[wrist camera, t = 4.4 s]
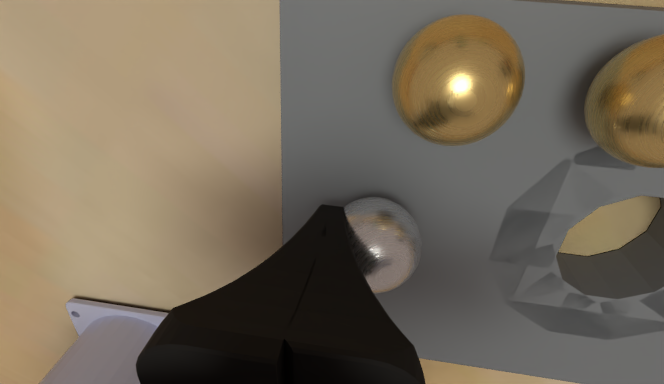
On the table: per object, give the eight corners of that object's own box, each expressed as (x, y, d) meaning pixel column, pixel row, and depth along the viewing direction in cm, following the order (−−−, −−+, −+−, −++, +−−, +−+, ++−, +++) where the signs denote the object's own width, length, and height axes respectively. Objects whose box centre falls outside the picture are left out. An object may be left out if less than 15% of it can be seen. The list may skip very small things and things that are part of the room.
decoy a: (487, 127, 12) (517, 174, 9) (385, 116, 12) (383, 158, 9) (521, 13, 10) (569, 28, 7) (400, 5, 10) (403, 16, 7)
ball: (394, 248, 15) (427, 308, 12) (316, 255, 14) (333, 320, 12) (407, 178, 13) (448, 229, 11) (320, 182, 13) (340, 237, 10)
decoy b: (659, 144, 11) (746, 199, 8) (548, 133, 11) (597, 183, 9) (722, 28, 10) (857, 51, 7) (591, 19, 10) (669, 36, 7)
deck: (295, 298, 20) (284, 336, 18) (298, -19, 12) (279, -17, 10) (647, 350, 19) (680, 399, 16) (899, 24, 11) (1023, 37, 9)
